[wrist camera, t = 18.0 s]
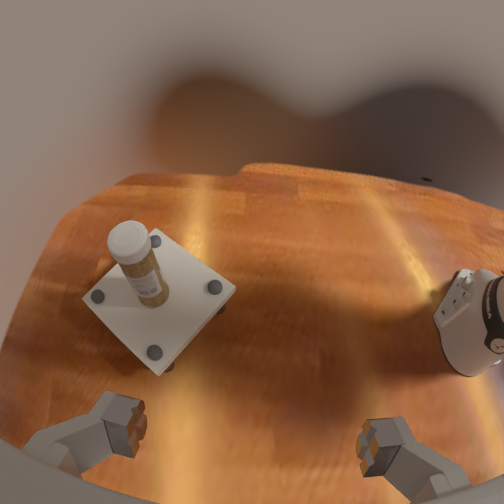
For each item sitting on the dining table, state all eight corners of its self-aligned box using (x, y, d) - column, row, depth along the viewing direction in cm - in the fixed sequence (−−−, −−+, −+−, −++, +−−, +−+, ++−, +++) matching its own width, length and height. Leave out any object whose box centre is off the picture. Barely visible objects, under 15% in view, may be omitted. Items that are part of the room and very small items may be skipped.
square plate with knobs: (163, 250, 53) (155, 225, 47) (235, 305, 48) (235, 284, 42) (97, 315, 45) (79, 296, 39) (166, 382, 40) (155, 373, 35)
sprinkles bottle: (172, 280, 42) (151, 219, 31) (167, 310, 40) (142, 256, 29) (141, 278, 42) (112, 218, 31) (135, 307, 40) (100, 254, 28)
